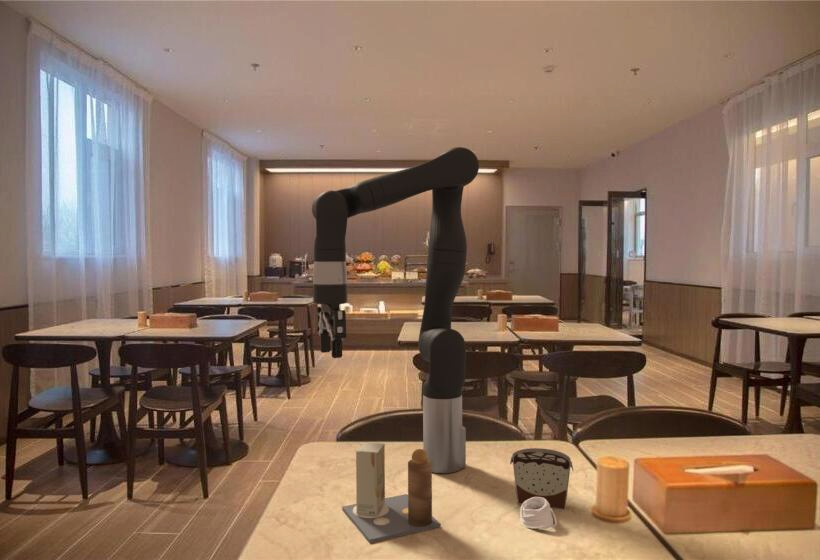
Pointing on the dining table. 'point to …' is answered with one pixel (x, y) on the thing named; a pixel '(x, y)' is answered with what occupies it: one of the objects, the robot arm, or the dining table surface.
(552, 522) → the white crumpled cloth
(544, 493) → the food container
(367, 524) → the card
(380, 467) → the skincare box
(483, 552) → the dining table surface
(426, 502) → the walnut tube
